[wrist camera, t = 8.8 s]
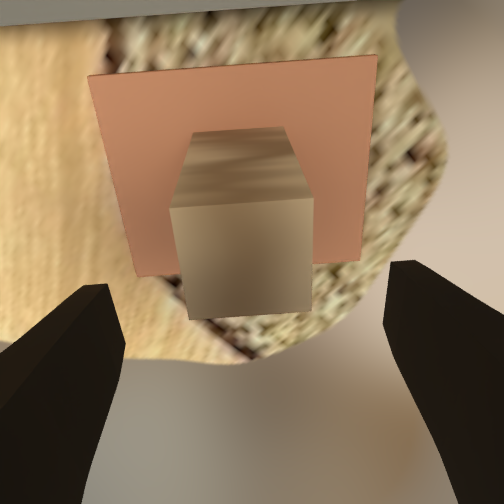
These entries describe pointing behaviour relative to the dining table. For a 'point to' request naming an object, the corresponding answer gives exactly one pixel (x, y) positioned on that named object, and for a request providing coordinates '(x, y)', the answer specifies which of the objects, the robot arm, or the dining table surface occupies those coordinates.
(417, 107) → the dining table surface
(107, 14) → the pocket plate
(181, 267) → the peg
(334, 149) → the mat
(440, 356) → the robot arm
